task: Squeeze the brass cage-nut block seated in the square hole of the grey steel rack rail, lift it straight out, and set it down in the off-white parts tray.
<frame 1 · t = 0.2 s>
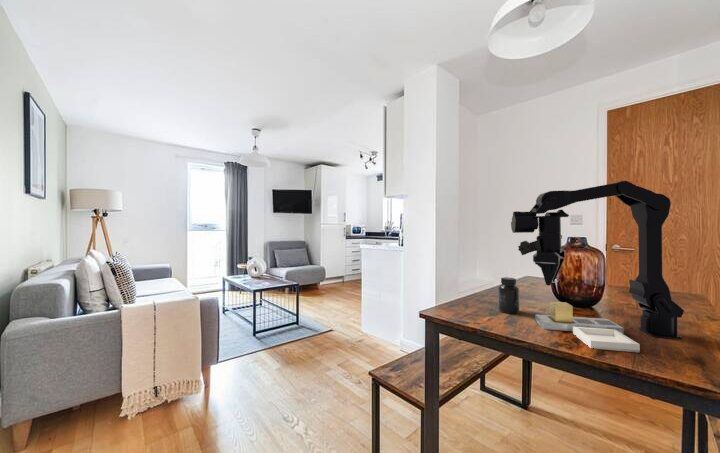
hand: (550, 282, 89), 14 cm above the table, fingers open, 9 cm apart
cage nut: (561, 326, 89), resting in rack rail
supplement bottle: (508, 311, 105), on the table
parts tray: (603, 342, 77), on the table
rack rail: (576, 327, 88), on the table
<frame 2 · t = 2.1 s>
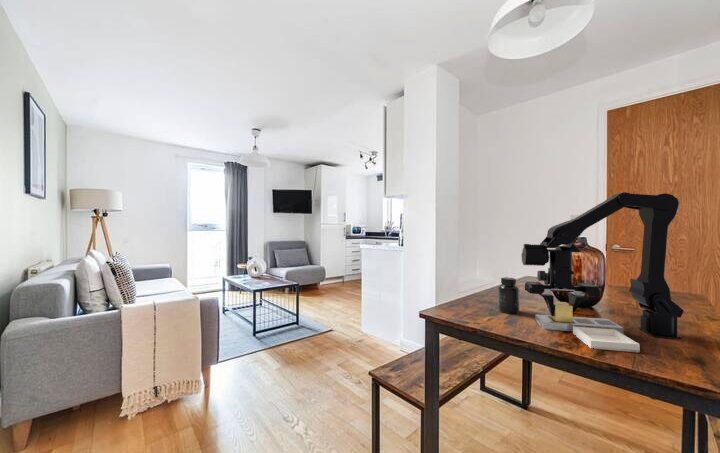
hand: (561, 316, 89), 3 cm above the table, fingers closed on cage nut, 4 cm apart
cage nut: (561, 326, 89), resting in rack rail, touching gripper
everything else where it was.
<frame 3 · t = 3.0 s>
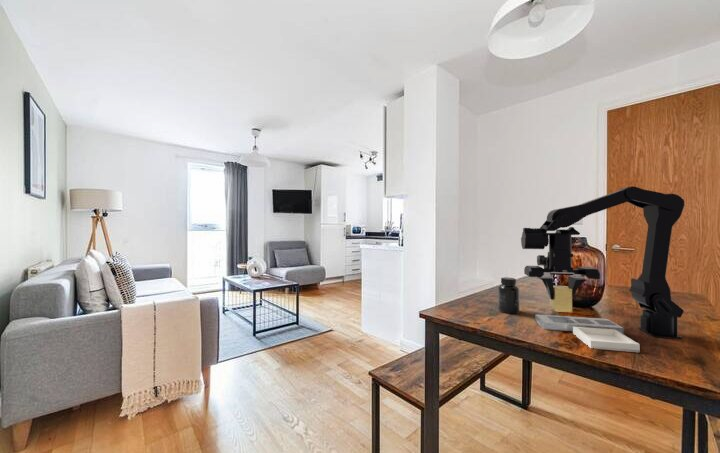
hand: (560, 299, 89), 8 cm above the table, fingers closed on cage nut, 4 cm apart
cage nut: (560, 309, 89), point 5 cm above the table, touching gripper
everything else where it was.
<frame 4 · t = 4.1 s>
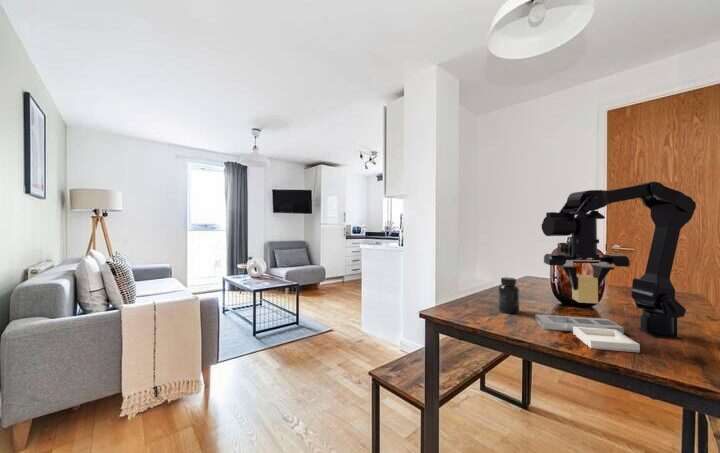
hand: (584, 290, 82), 13 cm above the table, fingers closed on cage nut, 4 cm apart
cage nut: (584, 300, 82), point 10 cm above the table, touching gripper
everything else where it was.
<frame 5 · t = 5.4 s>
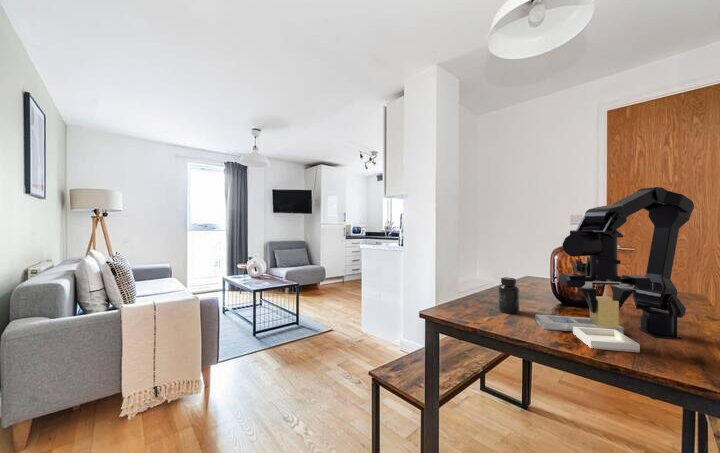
hand: (603, 313, 77), 8 cm above the table, fingers closed on cage nut, 4 cm apart
cage nut: (603, 324, 77), point 5 cm above the table, touching gripper
everything else where it was.
when the fingers open (5 cm above the table, at t = 6.3 s): cage nut drops 1 cm, resting on parts tray.
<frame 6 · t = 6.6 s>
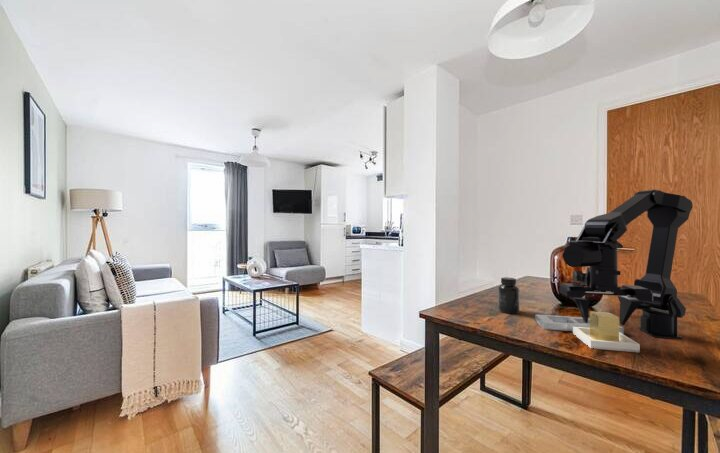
hand: (603, 323, 77), 5 cm above the table, fingers open, 8 cm apart
cage nut: (603, 340, 77), resting on parts tray
everything else where it was.
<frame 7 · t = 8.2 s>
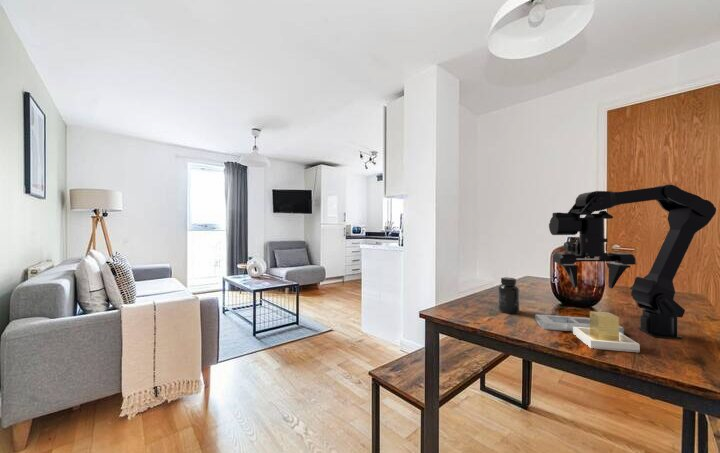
hand: (592, 287, 85), 13 cm above the table, fingers open, 9 cm apart
nothing on the table moved.
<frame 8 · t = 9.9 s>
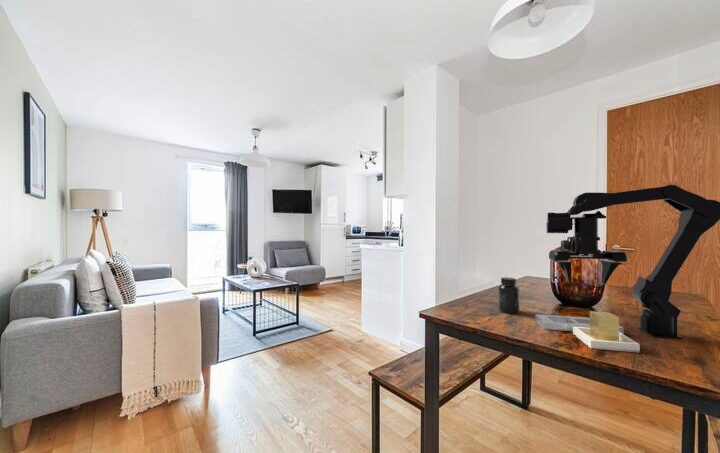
hand: (586, 283, 90), 13 cm above the table, fingers open, 9 cm apart
nothing on the table moved.
at the end: cage nut inside the target area on the parts tray (0.1 cm from its centre), point 0.5 cm above the parts tray's base; cage nut tilted 0°; the gripper is holding nothing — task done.
